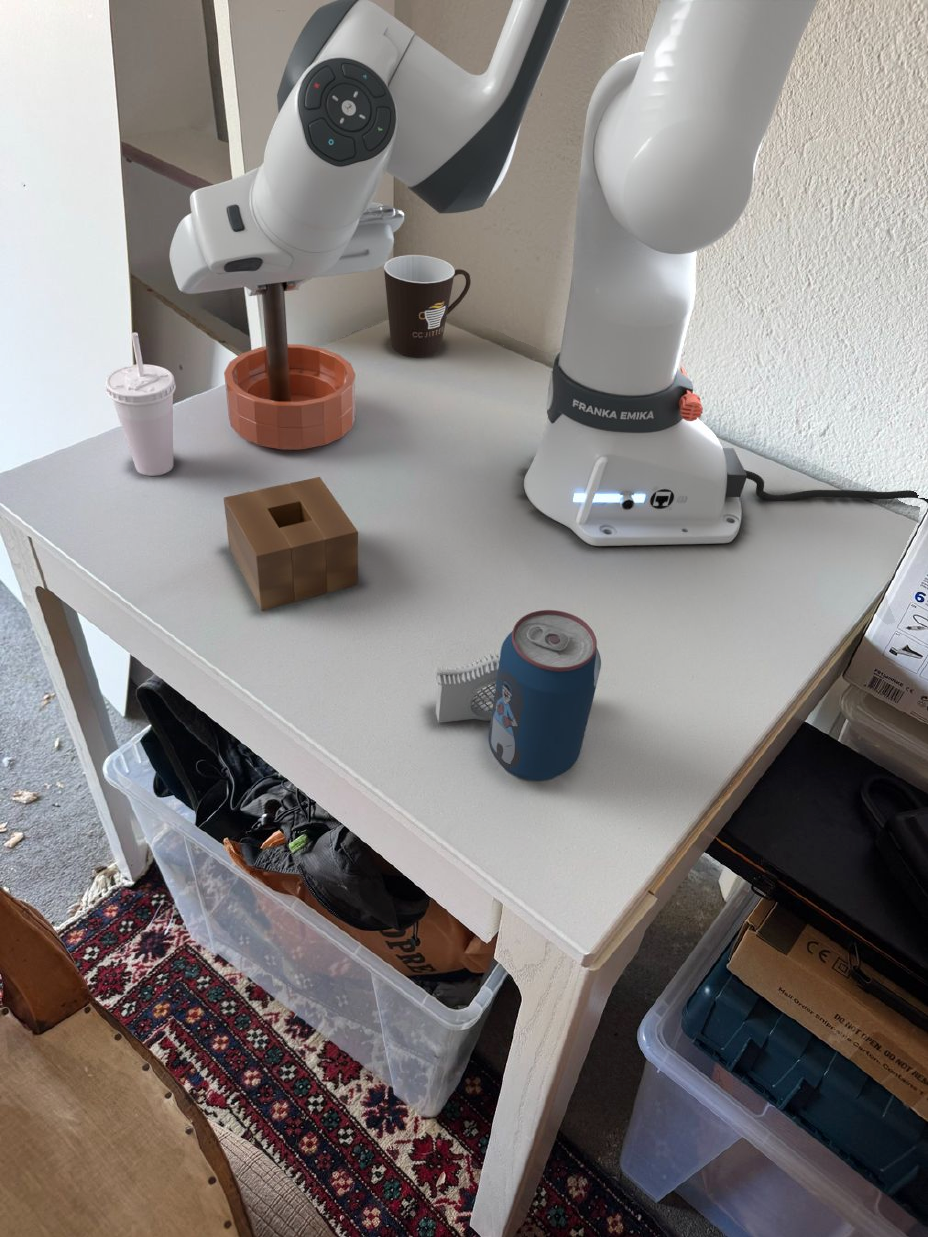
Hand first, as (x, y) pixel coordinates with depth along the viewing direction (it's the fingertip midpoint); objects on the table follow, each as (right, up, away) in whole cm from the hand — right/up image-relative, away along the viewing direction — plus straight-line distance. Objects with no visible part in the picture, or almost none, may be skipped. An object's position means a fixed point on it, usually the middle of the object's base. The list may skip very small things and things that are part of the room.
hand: (270, 285), depth 92 cm
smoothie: (-12, -18, +3) cm, 22 cm away
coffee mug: (+14, +2, +28) cm, 31 cm away
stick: (-1, -10, +8) cm, 13 cm away
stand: (+4, -28, -8) cm, 30 cm away
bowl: (0, -11, +11) cm, 16 cm away
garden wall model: (+23, -40, -18) cm, 50 cm away
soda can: (+24, -43, -21) cm, 54 cm away
